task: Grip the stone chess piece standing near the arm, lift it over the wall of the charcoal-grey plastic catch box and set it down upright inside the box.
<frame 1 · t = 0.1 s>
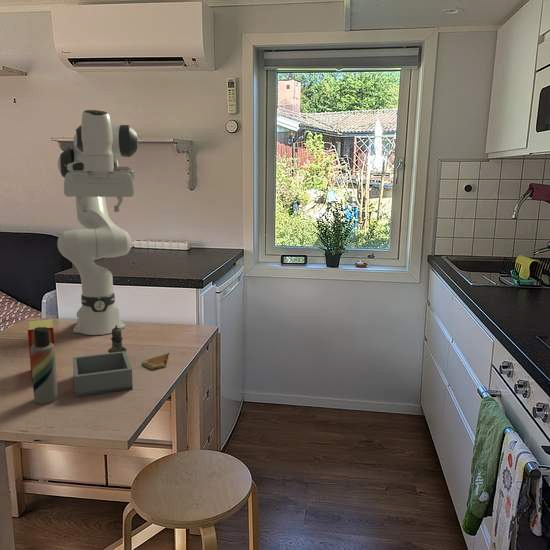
hand: (100, 211, 150), 48 cm above the table, fingers open, 8 cm apart
catch box: (102, 382, 141), on the table
shard: (155, 364, 157), on the table
lotion bottle: (46, 400, 130), on the table
stone chess piece: (117, 360, 158), on the table
baking soda box: (44, 374, 146), on the table
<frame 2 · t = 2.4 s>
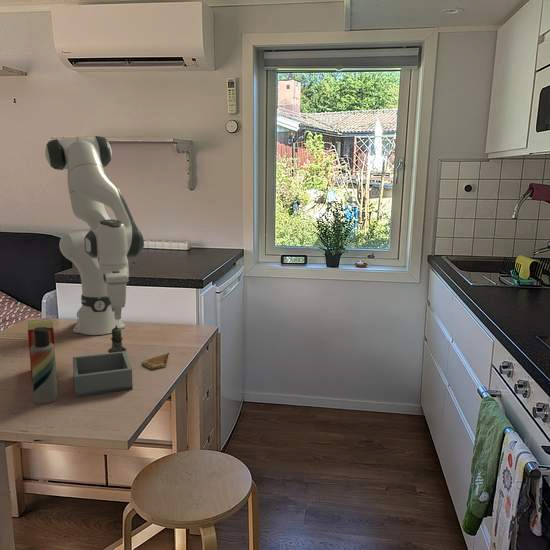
hand: (116, 315, 154), 15 cm above the table, fingers open, 8 cm apart
nothing on the table moved.
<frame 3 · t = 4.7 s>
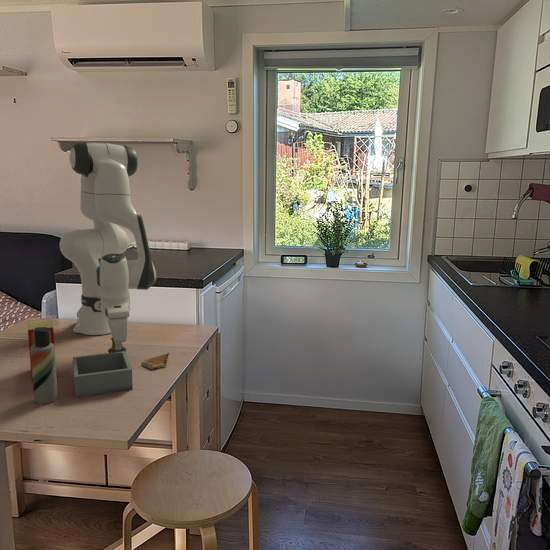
hand: (117, 346, 157), 5 cm above the table, fingers closed on stone chess piece, 3 cm apart
stone chess piece: (117, 360, 158), on the table, touching gripper
everything else where it was.
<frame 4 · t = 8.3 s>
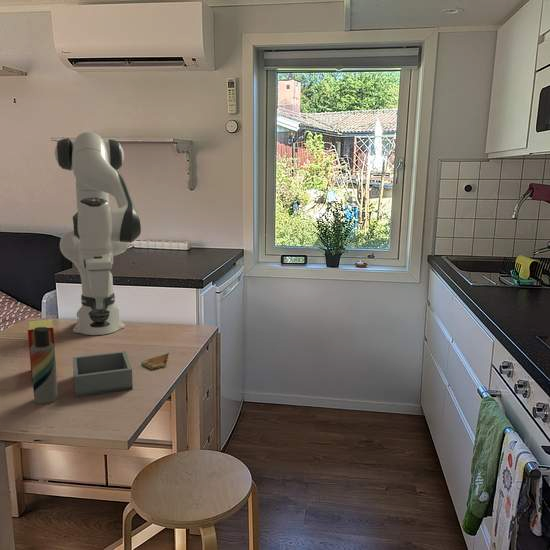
hand: (98, 306, 137), 23 cm above the table, fingers closed on stone chess piece, 3 cm apart
stone chess piece: (99, 325, 138), point 17 cm above the table, touching gripper
everything else where it was.
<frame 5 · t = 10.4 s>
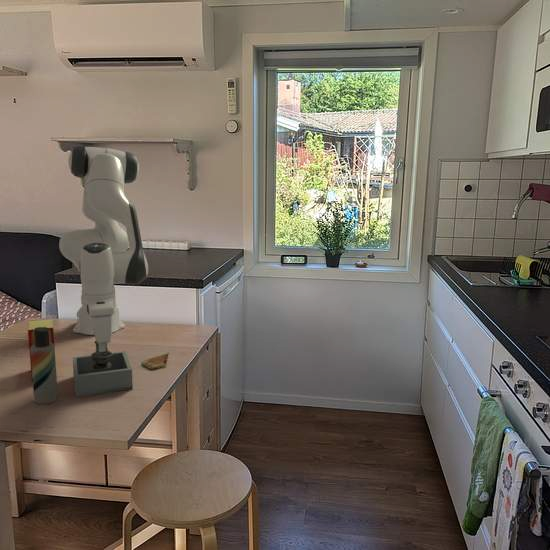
hand: (101, 348, 139), 11 cm above the table, fingers closed on stone chess piece, 3 cm apart
stone chess piece: (102, 366, 140), point 5 cm above the table, touching gripper
everything else where it was.
when the fingers open (8 cm above the table, at t = 11.8 s): stone chess piece moves 3 cm, resting on catch box.
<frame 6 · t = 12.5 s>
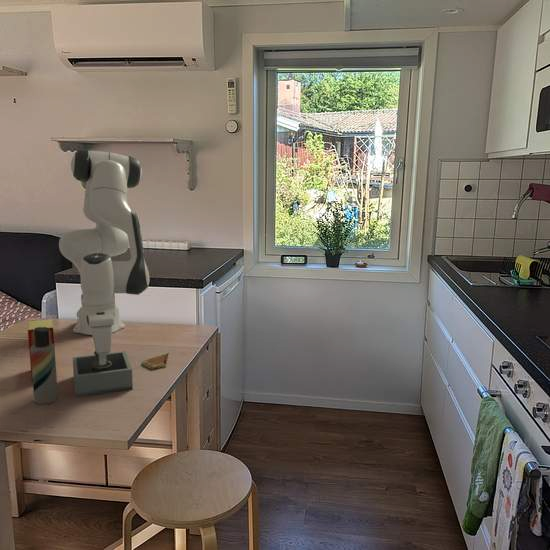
hand: (101, 357, 140), 8 cm above the table, fingers open, 8 cm apart
stone chess piece: (101, 376, 143), point 1 cm above the table, touching catch box, gripper
everything else where it was.
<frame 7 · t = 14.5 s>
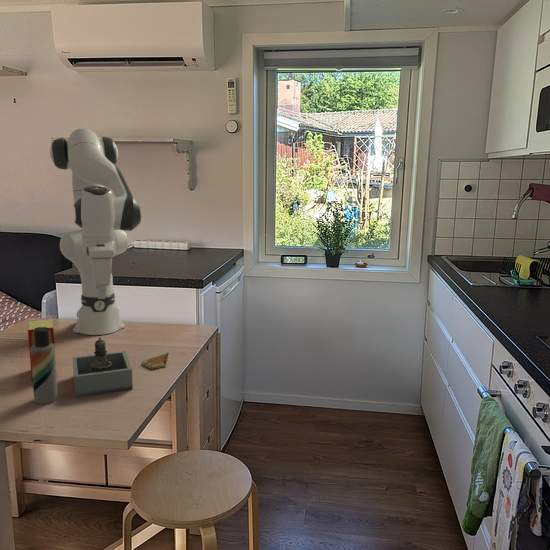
hand: (100, 293, 138), 26 cm above the table, fingers open, 8 cm apart
stone chess piece: (101, 376, 143), point 1 cm above the table, touching catch box
everything else where it was.
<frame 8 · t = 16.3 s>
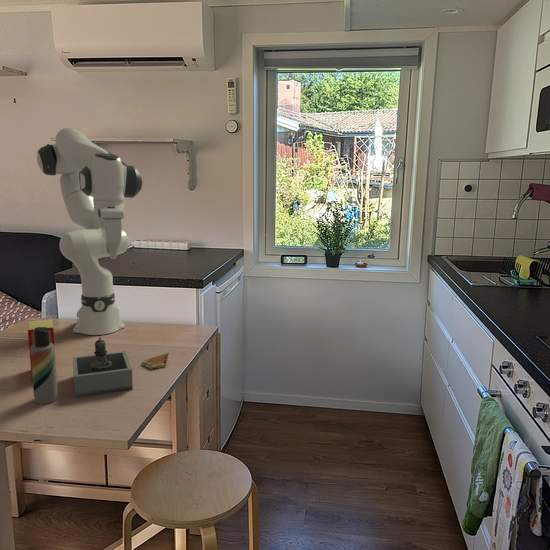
hand: (111, 256, 147), 35 cm above the table, fingers open, 8 cm apart
nothing on the table moved.
at the end: stone chess piece inside the target area on the catch box (2.6 cm from its centre), point 0.8 cm above the catch box's base; stone chess piece tilted 0°; the gripper is holding nothing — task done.
